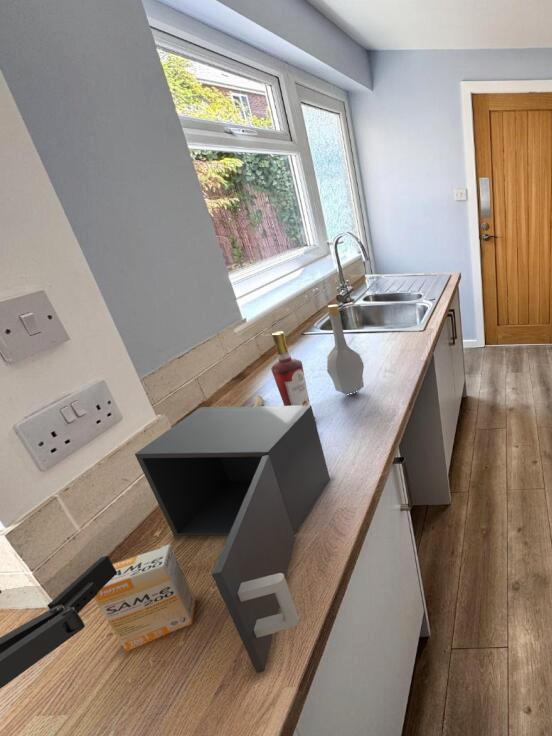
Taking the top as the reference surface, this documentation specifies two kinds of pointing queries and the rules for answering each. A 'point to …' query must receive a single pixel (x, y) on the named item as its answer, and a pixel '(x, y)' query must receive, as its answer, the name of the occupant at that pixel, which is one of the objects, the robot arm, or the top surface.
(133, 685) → the top surface
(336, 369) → the bottle
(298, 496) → the cabinet
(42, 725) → the top surface
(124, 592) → the supplement box
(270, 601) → the cabinet door
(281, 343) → the liquor
